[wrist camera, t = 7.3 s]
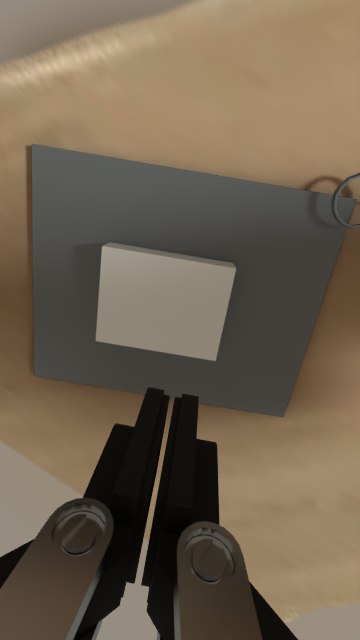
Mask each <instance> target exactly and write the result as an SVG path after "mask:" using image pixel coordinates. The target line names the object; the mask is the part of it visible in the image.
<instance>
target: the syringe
mask: <svg viewBox="0 0 360 640" xmlns="http://www.w3.org/2000/svg"><path fill="white" fill-rule="evenodd" d="M357 177H360V173H358V174H355V175H353V176H350V177H348V178H347V179H346V180H344V181H343V182H342V183H341V184H340V185H339V186H338V187H337V189H336V191H335V192H334V194H333V197H332V201H331V211H332V214H333V217H334V218H335V219H336V220H337V222H338V223H339V224H340V225H343V226H345V227H347V228H351V229H353V228H359V227H360V224H357V225H349V224H347V223H345V222H344V221H343V220H342V219H341V218H340V217H339V215H338V212H337V209H336V207H337V199H338V195H339V193H340V192H341V190H342V189H343V187H344V186H345V185H346V184H348V183H349V182H350V181H351V180H353V179H355V178H357Z"/></svg>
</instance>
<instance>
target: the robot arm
mask: <svg viewBox="0 0 360 640" xmlns="http://www.w3.org/2000/svg"><path fill="white" fill-rule="evenodd" d="M169 398H170V395H164V390H162V389H157V388H151V387H148V388H147V391H146V394H145V397H144V400H143V403H142V406H141V409H140V412H139V415H138V418H137V421H136V424H135V427H132V426H127V425H121V424H115V425H114V427H113V429H112V431H111V433H110V436H109V438H108V440H107V443H106V445H105V447H104V450H103V452H102V454H101V457H100V459H99V461H98V464H97V466H96V468H95V471H94V473H93V475H92V478H91V480H90V482H89V485H88V487H87V489H86V492H85V494H84V496H83V498H78V499H74V500H71V501H69V502H66V503H65V504H63V505H62V506H60V507H59V508H57V509H56V510H55V511H54V513H53V514H52V515H51V516H50V517H49V519H48V520H47V522H46V523H45V525H44V526H43V527H42V529H41V530H40V532H39V533H38V535H37V536H36V538H35V539H33V540H31V541H30V542H28V543H26V544H24V545H22V546H20V547H18V548H17V549H15V550H13V551H11V552H9V553H7V554H5V555H4V556H2V557H0V640H96V638H97V635H98V633H99V630H100V627H101V624H102V620H103V618H105V617H106V616H107V615H108V614H110V613H111V612H112V611H113V610H115V609H116V608H117V607H118V606H119V605H120V601H121V597H123V595H124V590H125V586H126V582H129V583H135V578H136V573H137V568H138V563H139V558H140V553H141V547H142V543H143V538H144V533H145V528H146V522H147V517H148V512H149V507H150V502H151V497H152V492H153V487H154V482H155V477H156V472H157V467H158V461H159V456H160V450H161V444H162V438H163V433H164V427H165V421H166V415H167V410H168V404H169ZM198 401H199V396H194V395H189V394H183V393H182V397H181V398H180V397H175V400H174V406H173V411H172V417H171V422H170V428H169V433H168V439H167V444H166V450H165V455H164V461H163V466H162V472H161V478H160V483H159V489H158V494H157V500H156V505H155V511H154V517H153V522H152V528H151V533H150V539H149V545H148V550H147V556H146V562H145V567H144V573H143V578H142V584H141V585H143V586H148V587H149V593H148V600H147V603H148V606H147V613H148V615H149V616H150V618H151V620H152V622H153V624H154V625H155V627H156V629H157V631H158V633H157V640H298V639H297V638H296V637H295V636H294V634H293V633H292V632H291V631H290V629H289V628H288V627H287V626H286V625H285V623H284V622H283V621H282V620H281V619H280V618H279V616H278V615H277V614H276V613H275V612H274V610H273V609H272V608H271V607H270V606H269V604H268V603H267V602H266V601H265V600H264V598H263V597H262V596H261V595H260V594H259V592H258V591H257V590H256V589H255V588H254V586H253V585H252V584H251V583H250V582H249V579H248V574H247V570H246V566H245V561H244V557H243V554H242V551H241V548H240V546H239V544H238V542H237V541H236V539H235V538H234V536H233V535H232V534H231V533H230V532H229V531H227V530H226V529H225V528H224V527H222V526H220V525H219V495H218V460H217V444H216V442H211V441H205V440H200V439H196V435H197V418H198Z"/></svg>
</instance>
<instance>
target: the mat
mask: <svg viewBox="0 0 360 640" xmlns="http://www.w3.org/2000/svg"><path fill="white" fill-rule="evenodd" d="M332 197H333V195H329V194H323V193H317V192H312V191H306V190H300V189H294V188H288V187H282V186H276V185H270V184H265V183H259V182H253V181H247V180H241V179H235V178H229V177H224V176H218V175H212V174H206V173H200V172H194V171H188V170H182V169H177V168H171V167H165V166H159V165H153V164H147V163H141V162H135V161H130V160H124V159H118V158H112V157H106V156H100V155H94V154H88V153H83V152H77V151H71V150H65V149H59V148H53V147H47V146H42V145H36V144H32V227H33V330H34V376H37V377H43V378H49V379H55V380H61V381H67V382H73V383H79V384H85V385H91V386H97V387H103V388H109V389H115V390H121V391H127V392H133V393H139V394H146V391H147V388H148V387H151V388H157V389H162V390H164V395H170V399H175V397H180V398H181V397H182V393H183V394H189V395H194V396H199V401H198V403H200V404H206V405H212V406H218V407H224V408H230V409H236V410H242V411H248V412H254V413H260V414H266V415H272V416H278V417H284V414H285V411H286V408H287V405H288V402H289V399H290V396H291V393H292V390H293V387H294V384H295V381H296V378H297V375H298V372H299V369H300V366H301V363H302V360H303V357H304V354H305V351H306V348H307V345H308V342H309V339H310V336H311V333H312V330H313V327H314V324H315V321H316V319H317V316H318V313H319V310H320V307H321V304H322V301H323V298H324V295H325V292H326V289H327V286H328V283H329V280H330V277H331V274H332V271H333V268H334V265H335V262H336V259H337V256H338V253H339V250H340V247H341V244H342V241H343V238H344V235H345V232H346V229H347V227H345V226H343V225H340V224H339V223H338V222H337V220H336V219H335V218H334V217H333V214H332V211H331V201H332ZM356 200H357V199H353V198H347V197H341V196H338V199H337V207H336V209H337V212H338V215H339V217H340V218H341V219H342V220H343V221H344V222H345V223H347V224H348V223H349V220H350V217H351V214H352V211H353V208H354V206H355V203H356ZM109 242H111V243H117V244H123V245H129V246H135V247H141V248H147V249H153V250H159V251H165V252H171V253H177V254H183V255H188V256H194V257H200V258H206V259H212V260H218V261H224V262H230V263H233V264H234V265H235V267H236V272H235V277H234V281H233V286H232V290H231V295H230V299H229V303H228V308H227V312H226V317H225V321H224V326H223V330H222V335H221V339H220V344H219V348H218V352H217V357H216V361H212V360H206V359H200V358H194V357H188V356H182V355H176V354H170V353H164V352H158V351H152V350H146V349H140V348H134V347H128V346H122V345H116V344H110V343H104V342H98V341H96V328H97V313H98V298H99V284H100V269H101V255H102V246H103V245H105V244H107V243H109Z"/></svg>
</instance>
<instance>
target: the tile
mask: <svg viewBox="0 0 360 640" xmlns="http://www.w3.org/2000/svg"><path fill="white" fill-rule="evenodd" d="M235 272H236V267H235V265H234V264H233V263H230V262H224V261H218V260H212V259H206V258H200V257H194V256H188V255H183V254H177V253H171V252H165V251H159V250H153V249H147V248H141V247H135V246H129V245H123V244H117V243H111V242H109V243H107V244H105V245H103V246H102V255H101V269H100V284H99V298H98V313H97V328H96V341H98V342H104V343H110V344H116V345H122V346H128V347H134V348H140V349H146V350H152V351H158V352H164V353H170V354H176V355H182V356H188V357H194V358H200V359H206V360H212V361H216V357H217V352H218V348H219V344H220V339H221V335H222V330H223V326H224V321H225V317H226V312H227V308H228V303H229V299H230V295H231V290H232V286H233V281H234V277H235Z"/></svg>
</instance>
